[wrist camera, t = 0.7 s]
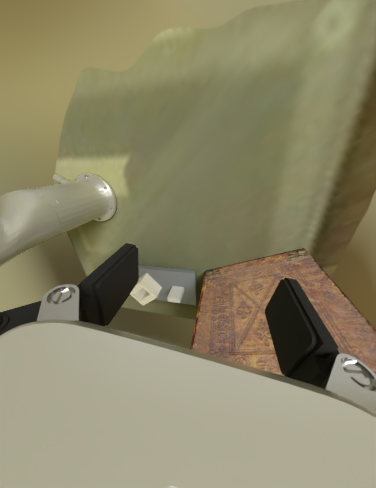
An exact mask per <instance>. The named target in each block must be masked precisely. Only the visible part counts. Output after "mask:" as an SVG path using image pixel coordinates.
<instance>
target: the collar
mask: <svg viewBox="0 0 376 488" xmlns="http://www.w3.org/2000/svg"><path fill="white" fill-rule="evenodd" d="M161 289H162V287H161V286H160V285H159V284H158V283H157V282H156V281H155V280H154V279H153V278H152V277H151V276H150V275H148V274H147V273H146V274H144V275H143V276H142V277H140V278H139V280H138V283H137V284H136V286H135V287H134V289H133V290H132V291H131V293H130V295H131V296H133V297H134V298H135V299H136V300H137V301H138V302H139V303H141V304H142V305H143V306H144V305H145V304H147V303H149V302H150V301H152V300H154V299H155V298H157V296H158V294H159V292H160V290H161Z"/></svg>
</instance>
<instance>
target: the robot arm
mask: <svg viewBox="0 0 376 488" xmlns="http://www.w3.org/2000/svg"><path fill="white" fill-rule="evenodd" d="M53 180H54V181H56V182H57V183H59V184H57V185H51V186H44V187H38V188H30V189H23V190H16V191H12V192H9V193H6V194H5V195H3V196H1V197H0V267H1V266H3V265H4V264H5V263H7V262H9V261H10V260H12V259H13V258H15V257H16V256H18V255H20V254H21V253H23V252H25V251H26V250H28V249H30V248H32V247H34V246H36V245H38V244H40V243H42V242H45V241H47V240H49V239H51V238H53V237H56V236H58V235H60V234H62V233H65V232H67V231H69V230H72V229H74V228H76V227H78V226H80V225H83V224H85V223H87V222H89V221H92V220H96V221H106V220H108V219H110V218H111V217H112V216H113V215H114V214H115V212H116V207H117V202H116V197H115V194H114V192H113V190H112V188H111V187H110V185H109V184H108V183H107V182H106V181H105V180H104V179H102V178H101V177H100V176H97V175H95V174H91V173H86V174H81V175H79V176H78V177H77V178H76V179H75V180H74V181H71V180H67V179H65V178H64V177H62V176H60V175H58V174H55V175H54V176H53ZM138 280H139V269H138V248H136V246H135V245H132V244H128V243H126V244H125V245H124V246H122V247H121V248H120V249H119V250H118V251H117V252H115V253H114V254H113V255H112V256H111V257H110V258H108V259H107V260H106V261H105V262H104V263H103V264H101V265H100V266H99V267H98V268H97V269H96V270H94V271H93V272H92V273H91V274H90V275H89V276H88V277H86V279H84V280H83V281H82V282H81V283H80V284H79V285H78V286H76V285H72V284H65V285H61V286H57V287H55V288H53V289H51V290H50V291H48V292H47V293H46V294H45V295H44V297H43V299H42V301H39V302H35V303H32V304H29V305H25V306H21V307H18V308H15V309H11V310H7V311H4V312H0V488H376V375H375V373H374V372H373V371H372V370H371V369H370V368H369V367H368V366H366V365H365V364H364V363H363V362H361V361H360V360H358V359H357V358H355V357H353V356H351V355H348V354H343V353H342V354H340V353H339V351H338V350H337V348H338V345H337V344H336V342H335V340H334V339H333V337H332V336H331V334H330V332H329V331H328V329H327V328H326V326H325V324H324V323H323V321H322V320H321V318H320V316H319V315H318V313H317V311H316V310H315V308H314V307H313V305H312V303H311V302H310V300H309V299H308V297H307V295H306V294H305V292H304V291H303V289H302V287H301V286H300V284H299V282H298V281H297V280H295V279H290V278H284V279H281V280H280V282H279V284H278V286H277V288H276V290H275V291H274V293H273V295H272V297H271V299H270V301H269V303H268V305H267V306H266V308H265V316H266V320H267V323H268V327H269V331H270V334H271V338H272V342H273V345H274V349H275V353H276V356H277V360H278V363H279V367H280V370H281V373H282V374H283V375H284V376H282V375H278V374H275V373H271V372H268V371H264V370H261V369H257V368H254V367H250V366H247V365H243V364H240V363H236V362H233V361H229V360H226V359H222V358H218V357H215V356H211V355H208V354H204V353H201V352H197V351H193V350H190V349H186V348H182V347H179V346H175V345H172V344H168V343H164V342H161V341H157V340H153V339H150V338H146V337H142V336H139V335H135V334H131V333H128V332H124V331H120V330H116V329H112V328H108V327H104V326H105V325H108V324H109V323H110V322H111V320H112V319H113V317H114V316H115V315H116V313H117V312H118V310H119V309H120V307H121V306H122V304H123V303H124V302H125V300H126V299H127V297H128V296H129V294H130V293H131V291H132V290H133V289H134V287H135V286H136V284H137V283H138Z"/></svg>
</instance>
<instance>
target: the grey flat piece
mask: <svg viewBox="0 0 376 488" xmlns="http://www.w3.org/2000/svg"><path fill="white" fill-rule="evenodd" d="M138 269H139V278H140V277H142V276H143V275H144V274H146V273H147V274H148V275H150V276H151V277H152V278H153V279H154V280H155V281H156V282H157V283H158V284H159V285H160V286H161V287H162V289H161V290H160V292H159V294H158V296H157V298H155V300H161V301H168V302H175V303H182V304H189V305H196V303H197V295H196V271H194V270H184V269H174V268H163V267H153V266H143V265H138Z"/></svg>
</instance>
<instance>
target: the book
mask: <svg viewBox="0 0 376 488" xmlns="http://www.w3.org/2000/svg"><path fill="white" fill-rule="evenodd" d="M284 278H290V279H295V280H297V281H298V282H299V284H300V286H301V287H302V289H303V291H304V292H305V294H306V295H307V297H308V299H309V300H310V302H311V303H312V305H313V307H314V308H315V310H316V311H317V313H318V315H319V316H320V318H321V320H322V321H323V323H324V324H325V326H326V328H327V329H328V331H329V332H330V334H331V336H332V337H333V339H334V340H335V342H336V344H337V345H338V348H337V350H338V351H339V353H340V354H342V353H343V354H348V355H351V356H353V357H355V358H357V359H358V360H360V361H361V362H363V363H364V364H365V365H366V366H368V367H369V368H370V369H371V370H372V371H373V372H374V373H375V375H376V329H375V328H374V327H373V326H372V325H371V324H370V323H369V321H368V320H367V319H366V318H365V317H364V316H363V315H362V313H360V311H359V310H358V309H357V308H356V307H355V305H353V303H352V302H351V301H350V300H349V299H348V298H347V296H346V295H345V294H344V293H343V292H342V291H341V290H340V288H339V287H338V286H337V285H336V284H335V283H334V282H333V281H332V279H331V278H330V277H329V276H328V275H327V274H326V272H325V271H324V270H323V269H322V268H321V267H320V266H319V264H318V263H317V262H316V261H315V260H314V259H313V258H312V257H311V255H310V254H309V253H308V252H307V251H306V250H305V249H304V248H303V249H298V250H294V251H289V252H285V253H281V254H276V255H272V256H268V257H263V258H259V259H254V260H250V261H246V262H241V263H237V264H233V265H228V266H224V267H219V268H215V269H211V270H206V271H205V276H204V281H203V286H202V291H201V296H200V301H199V307H198V312H197V317H196V322H195V327H194V333H193V338H192V343H191V348H190V350H193V351H197V352H201V353H204V354H208V355H211V356H215V357H218V358H222V359H226V360H229V361H233V362H236V363H240V364H243V365H247V366H250V367H254V368H257V369H261V370H264V371H268V372H271V373H275V374H278V375H282V376H284V375H283V374H282V373H281V370H280V367H279V363H278V360H277V356H276V353H275V349H274V345H273V342H272V338H271V334H270V331H269V327H268V323H267V320H266V316H265V308H266V306H267V305H268V303H269V301H270V299H271V297H272V295H273V293H274V291H275V290H276V288H277V286H278V284H279V282H280V280H281V279H284Z"/></svg>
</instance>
